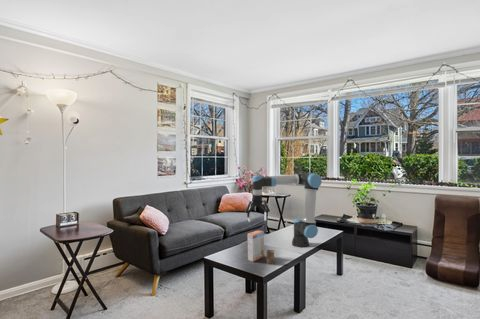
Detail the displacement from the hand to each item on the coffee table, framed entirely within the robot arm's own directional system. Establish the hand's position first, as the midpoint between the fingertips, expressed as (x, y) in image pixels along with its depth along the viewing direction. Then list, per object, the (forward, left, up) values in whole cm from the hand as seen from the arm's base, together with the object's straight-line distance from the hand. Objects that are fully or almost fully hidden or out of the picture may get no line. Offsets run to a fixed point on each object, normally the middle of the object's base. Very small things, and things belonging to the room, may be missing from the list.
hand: (257, 221), depth 236 cm
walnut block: (-13, +15, -27) cm, 34 cm away
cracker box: (-1, +9, -28) cm, 29 cm away
